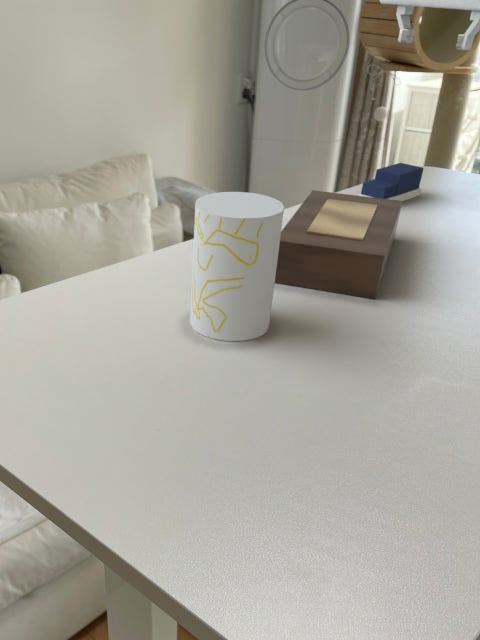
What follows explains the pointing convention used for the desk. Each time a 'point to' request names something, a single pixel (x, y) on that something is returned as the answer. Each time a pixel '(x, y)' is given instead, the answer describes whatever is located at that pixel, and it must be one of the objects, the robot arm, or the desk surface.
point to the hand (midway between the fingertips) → (432, 46)
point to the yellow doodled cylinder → (234, 264)
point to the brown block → (338, 243)
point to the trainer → (394, 183)
